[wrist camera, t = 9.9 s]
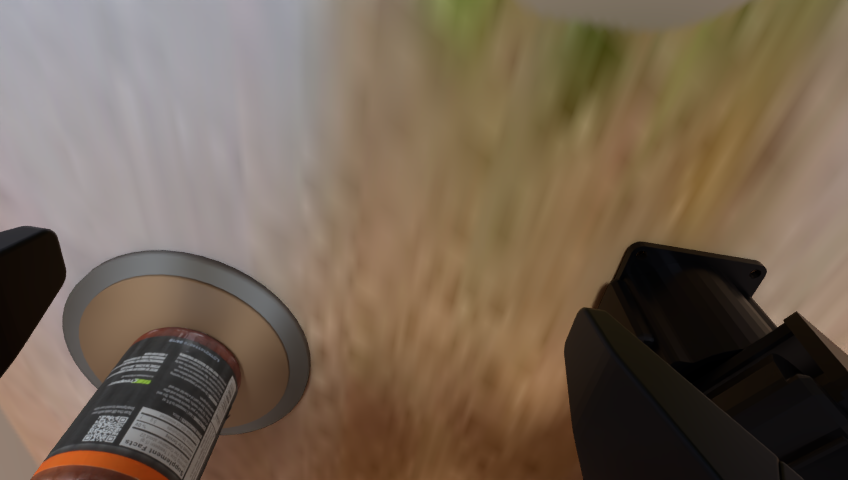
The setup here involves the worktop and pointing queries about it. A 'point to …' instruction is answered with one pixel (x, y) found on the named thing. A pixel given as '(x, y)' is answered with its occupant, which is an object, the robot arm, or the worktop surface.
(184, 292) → the coaster
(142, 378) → the supplement bottle
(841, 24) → the worktop surface
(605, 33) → the worktop surface
